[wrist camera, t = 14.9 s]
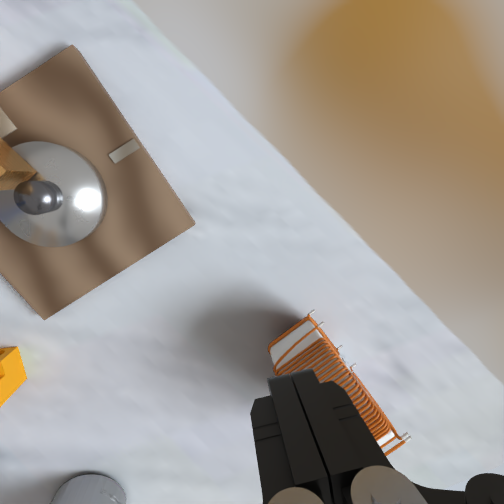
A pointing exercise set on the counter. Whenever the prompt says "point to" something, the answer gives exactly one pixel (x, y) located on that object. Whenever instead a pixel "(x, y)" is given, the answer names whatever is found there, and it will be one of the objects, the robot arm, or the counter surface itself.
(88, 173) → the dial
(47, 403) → the counter surface
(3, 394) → the pipe clamp
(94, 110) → the board
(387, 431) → the coil
